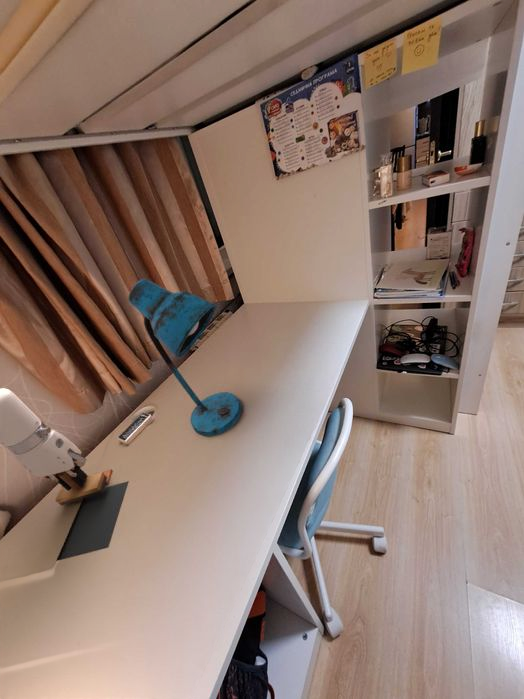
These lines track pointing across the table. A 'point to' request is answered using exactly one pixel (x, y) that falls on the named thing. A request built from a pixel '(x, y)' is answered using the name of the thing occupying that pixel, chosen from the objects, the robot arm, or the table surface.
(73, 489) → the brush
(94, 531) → the mat
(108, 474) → the orange square tile
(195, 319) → the desk lamp
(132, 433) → the multiport hub
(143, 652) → the table surface
